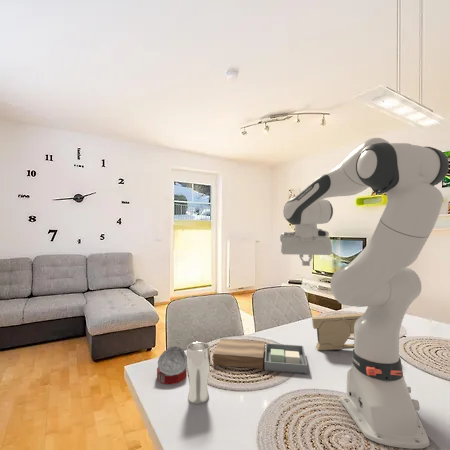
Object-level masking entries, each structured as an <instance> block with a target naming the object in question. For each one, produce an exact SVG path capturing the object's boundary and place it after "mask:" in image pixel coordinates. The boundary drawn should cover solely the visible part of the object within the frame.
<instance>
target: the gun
mask: <svg viewBox="0 0 450 450" xmlns="http://www.w3.org/2000/svg"><path fill="white" fill-rule="evenodd" d="M363 314H364V313H354V314H353V313H351V314H350V313H349V314H339V315H328V316H327V315H326V316H323V315H322V316H312V317H311V323H312V328H313V329H314V330H316V334H317V343H316V345H315V348H316V350H317V351H319V352H323V351H340V350H341V351H342V350H344V349H345V350H348V349H352V350H353V349H354V343H346V342H347V341H348V340H349V338H350V337H351V335H352V334H353V335H354V325H355V322H356V321H357V320H358V319H359V318H360V317H361V316H362V315H363Z"/></svg>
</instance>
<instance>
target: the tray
mask: <svg viewBox="0 0 450 450" xmlns="http://www.w3.org/2000/svg"><path fill="white" fill-rule="evenodd" d="M271 349H281V350H284V362H273V361H271ZM285 351H297V352H299V356H300V364H293V363H286V361H285ZM308 365H309V364H308V361H307V358H306V353H305V349H304V346H303V345H296V344H295V345H294V344H282V343H281V344H280V343H270V342H269V343H268V342H267V343H265V354H264V372H276V373H277V372H278V373H288V374H289V373H290V374H299V375H301V374H302V375H308V369H309V368H308Z"/></svg>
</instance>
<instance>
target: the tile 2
mask: <svg viewBox="0 0 450 450" xmlns="http://www.w3.org/2000/svg"><path fill="white" fill-rule="evenodd" d="M285 361H286V363H293V364H300V356H299V352H297V351H285Z"/></svg>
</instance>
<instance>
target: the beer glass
mask: <svg viewBox="0 0 450 450" xmlns="http://www.w3.org/2000/svg"><path fill="white" fill-rule="evenodd" d="M186 348H187V349H186V356H187V361H186V362H187V378H188V383H189V384H188V385H189V388H188V389H189V391H188V396H187V399H188V402H190V404H191V403H192V404H194V405H202V404H204V403H206V402H207V401H209V399H210V395H209V387H208V385H209V384H208V382H209V381H208V380H209V376H210V368H211V349H210V344H209V343H208V342H203V341H196V342H191V343H189V344H188V345H187V347H186Z"/></svg>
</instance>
